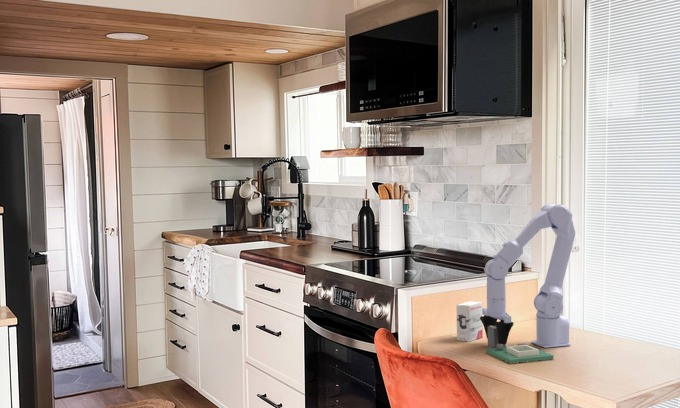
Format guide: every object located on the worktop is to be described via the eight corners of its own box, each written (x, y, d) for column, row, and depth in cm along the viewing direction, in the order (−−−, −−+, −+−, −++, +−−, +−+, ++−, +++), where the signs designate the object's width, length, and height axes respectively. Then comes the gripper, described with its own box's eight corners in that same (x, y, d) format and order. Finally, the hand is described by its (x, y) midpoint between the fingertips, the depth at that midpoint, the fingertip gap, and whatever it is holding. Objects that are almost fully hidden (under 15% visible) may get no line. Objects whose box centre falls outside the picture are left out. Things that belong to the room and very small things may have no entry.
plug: (499, 344, 218) (498, 324, 217) (505, 347, 214) (505, 326, 213) (487, 345, 216) (487, 325, 216) (494, 348, 213) (493, 327, 212)
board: (526, 348, 211) (526, 339, 211) (553, 359, 198) (553, 349, 198) (486, 352, 207) (485, 343, 207) (510, 364, 194) (510, 354, 194)
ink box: (470, 335, 230) (470, 300, 230) (483, 337, 227) (483, 302, 227) (456, 340, 224) (455, 304, 224) (469, 342, 221) (469, 305, 220)
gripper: (473, 295, 220) (474, 337, 221) (496, 303, 206) (496, 347, 207) (493, 294, 222) (493, 335, 223) (517, 301, 208) (517, 345, 209)
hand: (496, 341), depth 215 cm, fingers open, 7 cm apart
